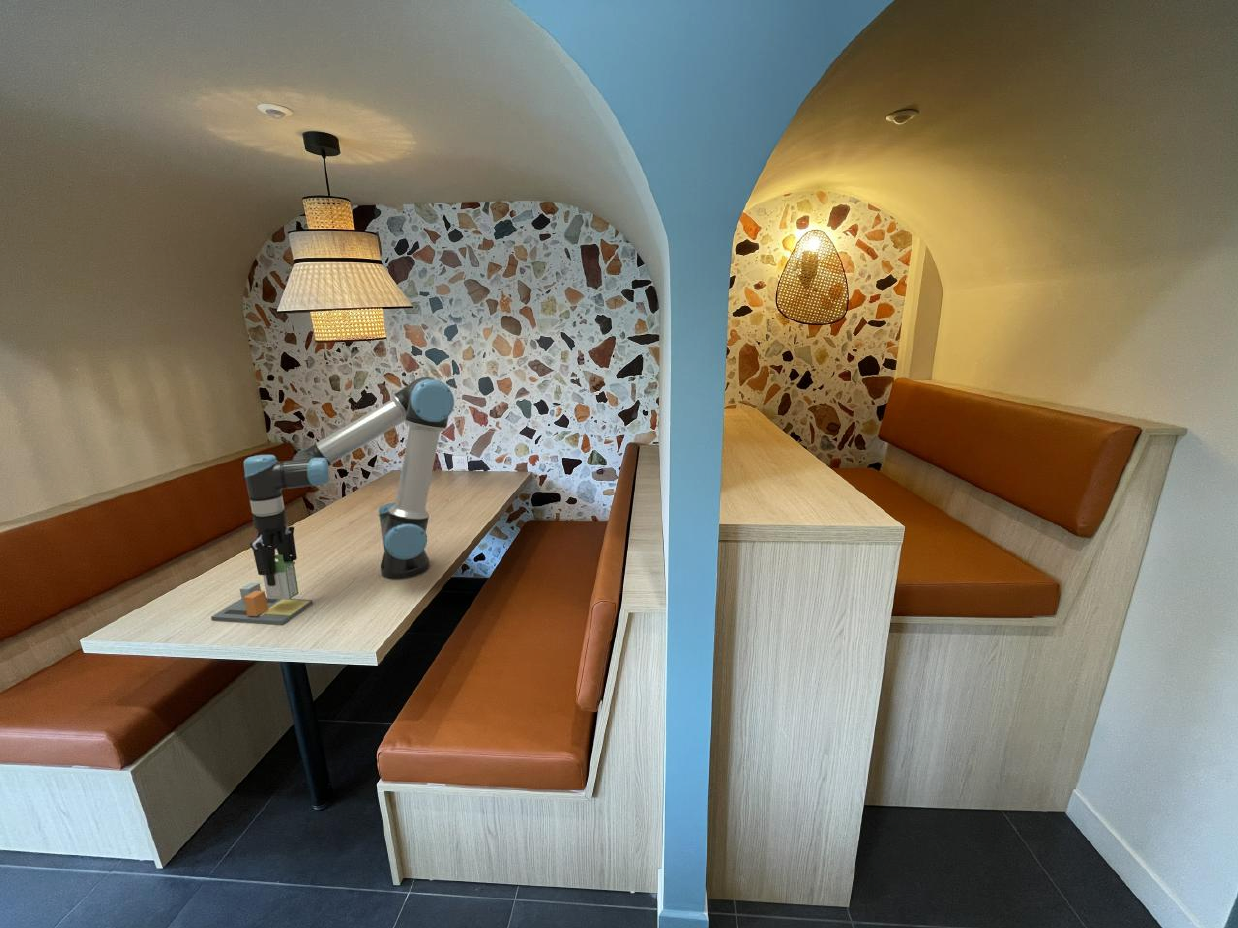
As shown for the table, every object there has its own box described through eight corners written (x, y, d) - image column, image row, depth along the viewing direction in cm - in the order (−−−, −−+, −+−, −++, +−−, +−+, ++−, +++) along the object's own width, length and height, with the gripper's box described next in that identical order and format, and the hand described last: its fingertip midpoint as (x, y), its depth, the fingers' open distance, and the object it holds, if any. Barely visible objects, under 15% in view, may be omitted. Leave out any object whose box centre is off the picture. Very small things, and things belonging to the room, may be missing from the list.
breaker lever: (258, 608, 153) (255, 590, 152) (268, 608, 153) (264, 591, 151) (247, 615, 149) (243, 597, 148) (256, 616, 149) (253, 597, 148)
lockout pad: (282, 599, 159) (282, 599, 159) (310, 601, 157) (310, 600, 157) (261, 613, 151) (261, 613, 151) (290, 615, 150) (290, 614, 150)
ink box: (299, 593, 155) (292, 549, 152) (289, 600, 151) (281, 555, 148) (277, 592, 156) (269, 548, 152) (266, 599, 152) (258, 554, 148)
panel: (246, 599, 162) (243, 582, 160) (313, 603, 159) (310, 585, 157) (211, 620, 150) (207, 601, 149) (282, 625, 147) (279, 606, 146)
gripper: (279, 502, 156) (292, 577, 162) (230, 522, 140) (246, 604, 145) (303, 502, 155) (315, 578, 160) (256, 523, 139) (271, 606, 144)
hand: (282, 590), depth 153 cm, fingers closed on ink box, 4 cm apart
